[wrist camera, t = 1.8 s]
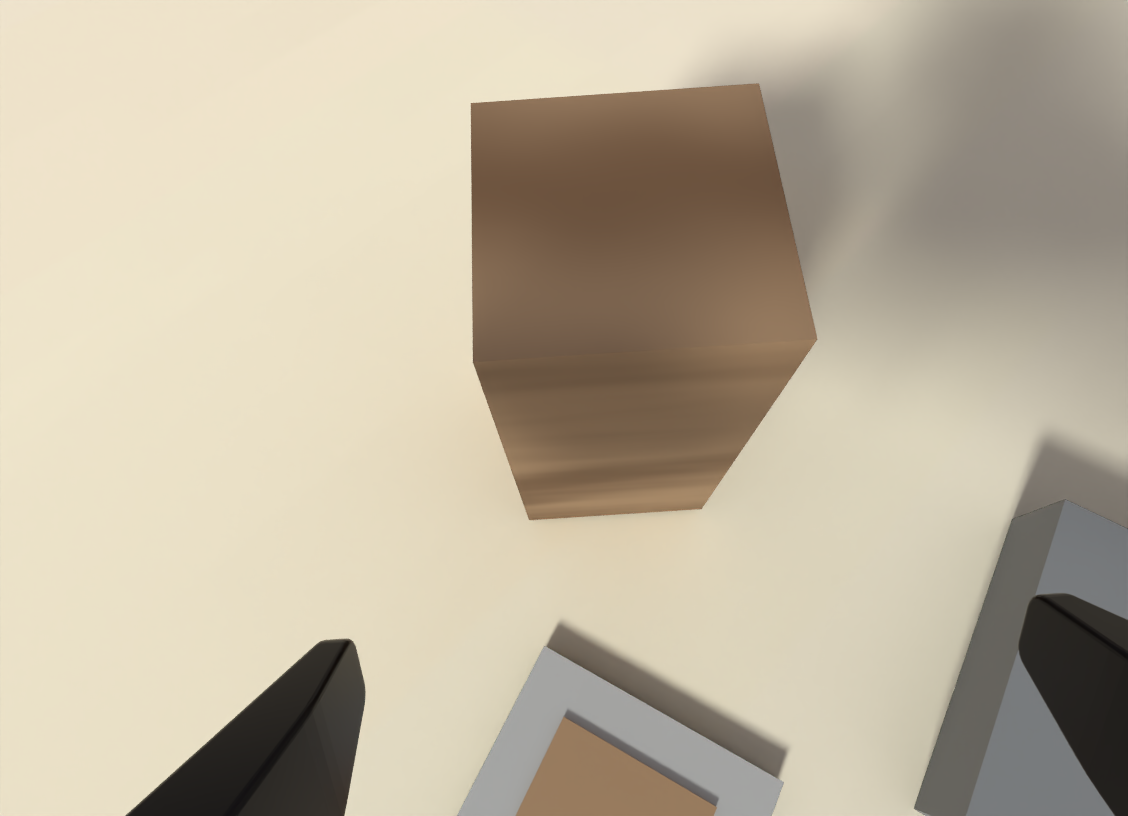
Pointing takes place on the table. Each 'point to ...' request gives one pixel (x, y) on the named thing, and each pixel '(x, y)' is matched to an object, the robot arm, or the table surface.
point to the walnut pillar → (631, 292)
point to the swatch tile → (607, 757)
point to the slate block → (1023, 677)
